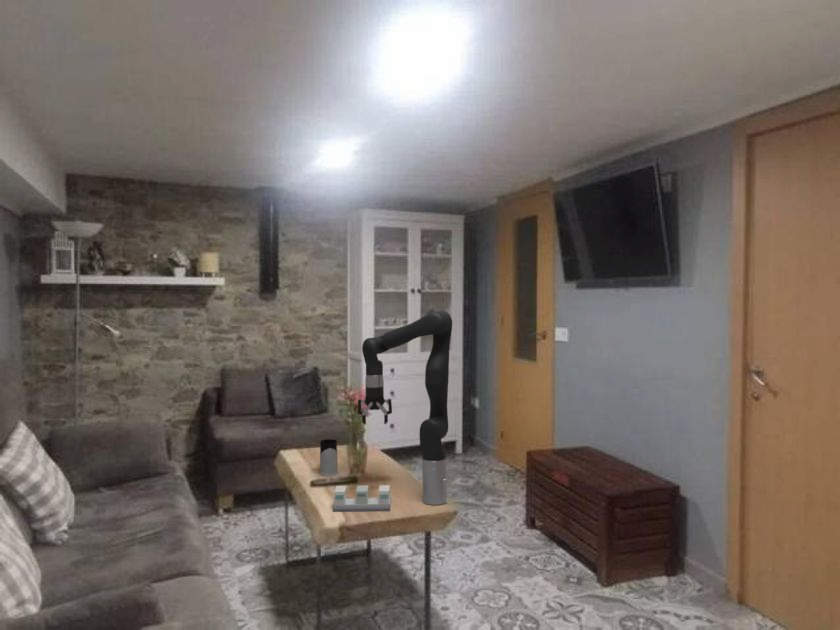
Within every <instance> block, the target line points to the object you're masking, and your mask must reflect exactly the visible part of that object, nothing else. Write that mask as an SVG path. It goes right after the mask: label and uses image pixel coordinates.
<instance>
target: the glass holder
mask: <svg viewBox="0 0 840 630" xmlns="http://www.w3.org/2000/svg"><path fill="white" fill-rule="evenodd" d="M319 444H320V446H319V447H320V451H319V460H320V461H319V463H320V464H319V467H320V468H319V469H320V471H319V474H318V475H319V476H322V477H333V476H337V475H339V470H338V442H337V439H331V438H328V439H323V440H322V439H321V440H320V441H319Z"/></svg>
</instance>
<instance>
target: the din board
mask: <svg viewBox="0 0 840 630" xmlns="http://www.w3.org/2000/svg"><path fill="white" fill-rule="evenodd" d="M347 487H348V486H347V485H336V486H335V489H334V492H333V496H334V497H333V499H334V501H333V508H332V512H333V513H334V512H335V513H336V512H337V513H338V512H339V513H342V512H344V513H345V512H346V513H347V512H350V513H351V512H353V513H355V512H390V511H391V506H392V505H391V504H392V503H391V502H392V498H391V485H390V484H389V485H387V484H385V485H383V484H382V485H381V484H380V485H379V487H378V497H369V500H368V504H356V497H353V498H350V497H349V498H348V493H347V492H348V488H347Z"/></svg>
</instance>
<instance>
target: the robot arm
mask: <svg viewBox="0 0 840 630" xmlns="http://www.w3.org/2000/svg"><path fill="white" fill-rule="evenodd" d="M452 329H453V319H452V316H451V314H450V313H449V312H447V311H445V310H437V311H436V310H435V311H431V312H429V313H426V315H424V316H422V317H420V318H419V319H416V320H415V321H413V322H411V323H409V324H406V325H403V326H400V327H398V328H395V329H392V330H389V331H386V332H384V333H383V335H380V336H375V337H368V338H366V339H364V341H363V342H362V346H361V347H362V348H361V349H362V350H361V351H362V355H363V359H364V363H365V381H364V382H365V384H364V385H365V399H362V398H359V399H358V401H357V415H360V416H361V421H362V422H361V423H362V424H363V425H364V426H366V425H367V415H366V414H367V413H368V411H369V410H371V411H374V410H375V411H379V410H380V411H381V412H382V414H384V415H383V418H384V420H383V421H384V423H383V424H384V425H387V424H388V422H389V415H390V414H392V413H393V405H392V399H391V398H388V399H386V398H385V395H384V394H385V391H384V390H385V389H384V386H385V385H384V384H385V383H384V373H383V371H384V369H383V367H384V365H383V361H382V360H381V359H380V360H379V358H378V355H380V354H384V353H385V352H387V351H390V350H391V349H395V348H397V347H400V346H403V345H406V344H407V343H409V342H411V341H412V340H415V339H417V338H421V337H425V336H426V337H427V336H432V347H431V350H430V353H429V356H428V359H427V361H426V364H425V373H424V376H425V377H424V385H425V389H426V392H427V396H428V400H429V406H430V407H429V417H428V419H425V420H423V421H422V422H421V423H420V426H419V448H420V453H421V455H422V457H421V459H422V460H421V462H422V463H421V465H422V470H421V471H422V473H421V474H422V503H424V504H425V505H429V506H439V505H443V504H447V475H446V474H447V469H446V468H447V466H446V465H447V464H446V463H447V461H446V457H447V456H446V455H447V454H446V450H444V449H443V446H442V439H444V438H445V437H446V436H447V435H448V432H449V416H448V415H449V414H448V398H449V397H448V395H449V394H448V393H449V376H450V375H449V374H450V373H449V371H450V369H449V367H450V365H449V364H450V346H451V345H450V344H451V338H452ZM385 403H386V404H387V405H388V410H386V408H385V407H384V404H385ZM364 404H365V405H366V407H365V409H364V410H362V406H363V405H364Z"/></svg>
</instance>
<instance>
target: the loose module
mask: <svg viewBox="0 0 840 630" xmlns="http://www.w3.org/2000/svg"><path fill="white" fill-rule="evenodd" d="M355 498H356V504H368V500H369V498H370V485H357V486H356V490H355Z"/></svg>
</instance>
